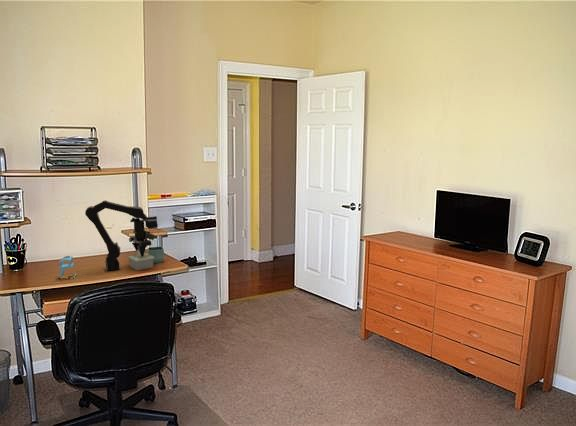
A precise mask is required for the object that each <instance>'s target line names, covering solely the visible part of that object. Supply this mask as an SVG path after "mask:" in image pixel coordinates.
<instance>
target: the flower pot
mask: <svg viewBox="0 0 576 426" xmlns="http://www.w3.org/2000/svg"><path fill="white" fill-rule="evenodd" d="M147 254H149V255H151V256H154V258H153V264H159V263H163V261H164V260H163V259H164V256H165V255H164V254H165V249H164V247H163V246H162V245H161V246H160V245H159V246H150V247H148V246H147Z"/></svg>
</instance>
